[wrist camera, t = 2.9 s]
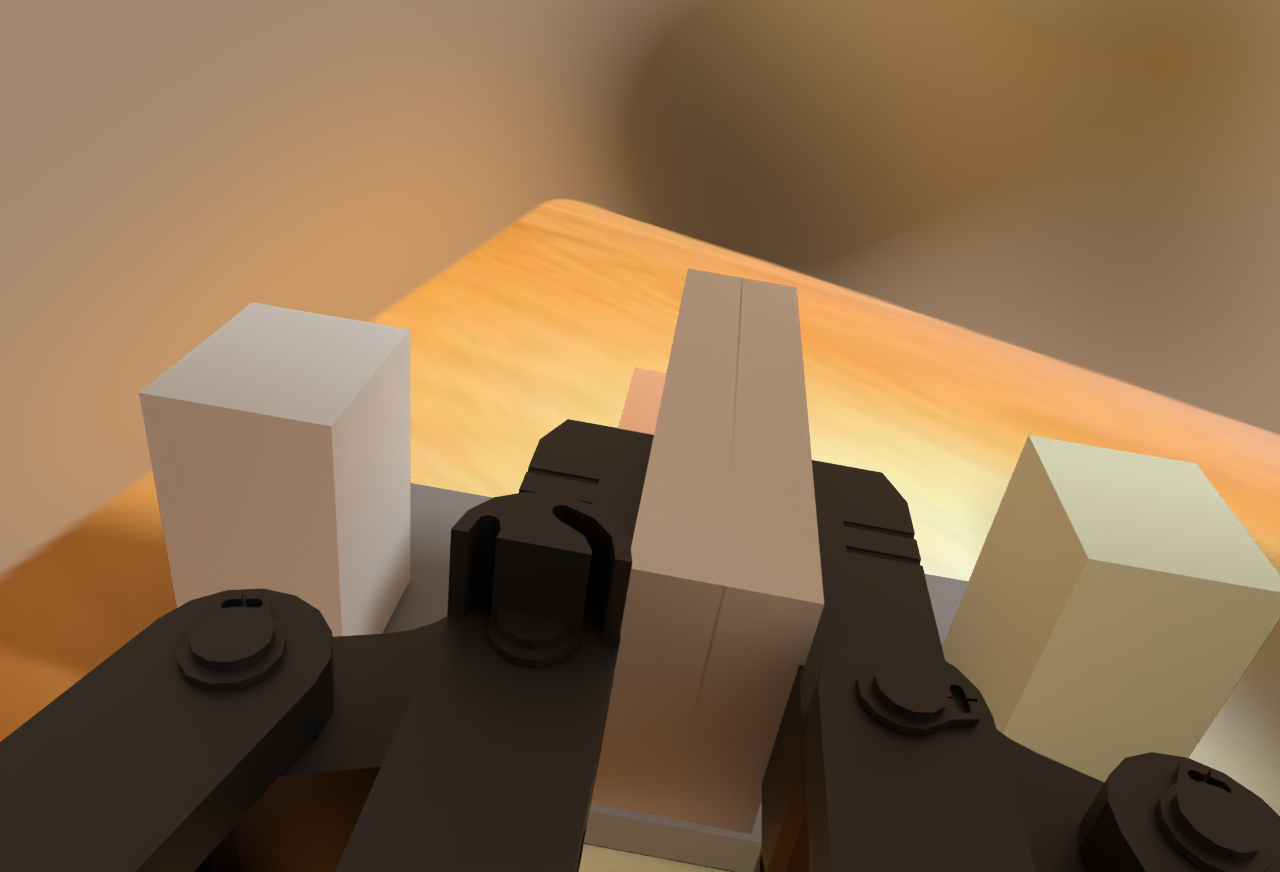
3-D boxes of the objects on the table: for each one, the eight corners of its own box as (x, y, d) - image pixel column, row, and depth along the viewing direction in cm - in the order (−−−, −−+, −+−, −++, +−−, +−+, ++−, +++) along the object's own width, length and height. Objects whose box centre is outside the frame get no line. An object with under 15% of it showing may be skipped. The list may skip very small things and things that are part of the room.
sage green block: (1071, 698, 33) (1196, 463, 27) (1128, 848, 28) (1295, 595, 22) (931, 672, 33) (1028, 434, 28) (961, 817, 28) (1088, 558, 23)
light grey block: (410, 578, 33) (410, 329, 28) (345, 703, 28) (331, 426, 23) (276, 554, 34) (252, 302, 28) (188, 673, 28) (139, 392, 23)
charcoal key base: (1052, 625, 39) (1064, 598, 38) (1180, 955, 27) (1203, 926, 26) (308, 493, 40) (307, 464, 39) (111, 753, 28) (102, 719, 27)
